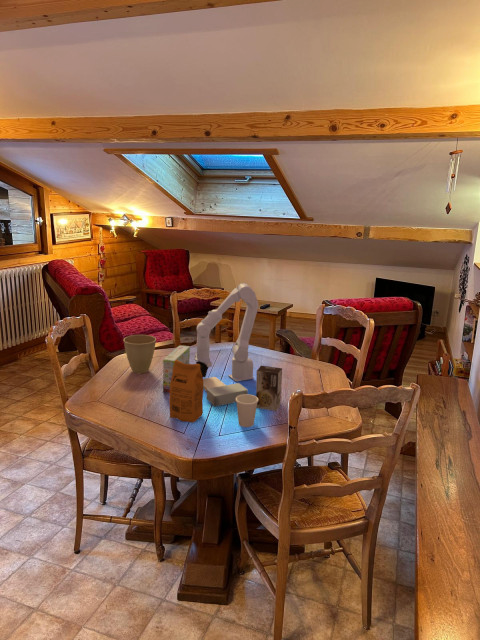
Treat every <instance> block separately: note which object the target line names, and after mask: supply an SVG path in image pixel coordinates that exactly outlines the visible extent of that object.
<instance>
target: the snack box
mask: <svg viewBox="0 0 480 640" xmlns="http://www.w3.org/2000/svg"><path fill="white" fill-rule="evenodd" d="M190 348H191V347H190V346H189V345H178V346H177V347H176V348H175V349H174V350H173V351H171V352H170V353H169V354H168V355H167V356H165V358H163V360H162V364H163V365H162V367H163V368H162V369H163V370H162V371H163V372H162V373H163V375H162V393H167V394H170V383H171V378H172V373H173V366H174V362H175V360H178V361H180V362H182V363H184V364H190V354H191V353H190V352H191V350H190Z"/></svg>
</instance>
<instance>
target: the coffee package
mask: <svg viewBox="0 0 480 640" xmlns="http://www.w3.org/2000/svg"><path fill="white" fill-rule="evenodd" d="M200 367H201V365H200V364H196V363H189V364H184V363H182V362H180V361H178V360H175V362H174V366H173V373H172V378H171V383H170V393H169V399H168V401H169V418H171V419H177V420H178V421H180V422H183V423H192V424H193V423H195V422H196V421H197V420H199V419H200V417H202V416H203V414H204V409H203V407H204V403H203V398H204V389H203V379H204V377H202V373H201V370H200Z"/></svg>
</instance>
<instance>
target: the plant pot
mask: <svg viewBox="0 0 480 640" xmlns="http://www.w3.org/2000/svg"><path fill="white" fill-rule="evenodd" d="M156 343H157V338H156V337H155V336H153V335H149V334H148V335H147V334H131V335H128V336H126V337H124V338H123V345H124V350H125V354H126V358H127V361H128V364H129V366H130V368H131V369H130V370H131V371H132V373H134V374H137V373H142V374H145V373H148V372H149V370H150V368H151V365H152V362H153V357H154V353H155V349H156Z"/></svg>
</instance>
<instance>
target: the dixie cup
mask: <svg viewBox="0 0 480 640" xmlns="http://www.w3.org/2000/svg"><path fill="white" fill-rule="evenodd" d="M257 402H258V398H257V397H256V395H253V394H249V393H248V394H243V395H239V396H237V397H236V402H235V403H236V409H237V418H238V419H237V422H238V425H239V426H240V427H242V428H251V427H253V426H254V425H255V419H256V415H257V414H256V413H257V409H258V408H257Z"/></svg>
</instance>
